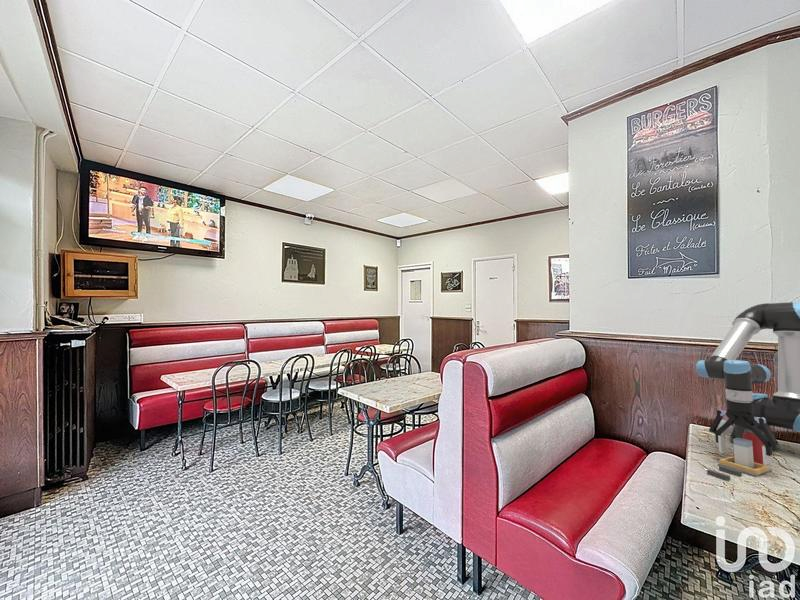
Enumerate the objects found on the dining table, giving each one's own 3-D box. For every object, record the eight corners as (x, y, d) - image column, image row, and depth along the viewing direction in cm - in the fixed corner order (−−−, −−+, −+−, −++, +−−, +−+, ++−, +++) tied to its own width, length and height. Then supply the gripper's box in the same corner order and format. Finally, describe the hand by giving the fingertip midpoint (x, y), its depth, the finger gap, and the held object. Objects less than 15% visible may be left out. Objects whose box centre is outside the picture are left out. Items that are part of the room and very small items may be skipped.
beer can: (773, 466, 132) (770, 434, 133) (753, 464, 134) (750, 433, 134) (759, 459, 139) (757, 429, 140) (740, 458, 140) (738, 428, 141)
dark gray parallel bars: (721, 469, 130) (720, 465, 130) (742, 476, 124) (741, 471, 124) (707, 474, 126) (707, 469, 126) (728, 480, 120) (727, 476, 120)
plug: (740, 463, 133) (738, 437, 134) (754, 467, 130) (752, 440, 130) (735, 465, 132) (733, 439, 132) (749, 469, 128) (746, 442, 129)
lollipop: (731, 460, 138) (728, 422, 139) (713, 455, 143) (710, 419, 144) (738, 457, 141) (735, 420, 142) (719, 452, 146) (717, 417, 147)
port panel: (733, 460, 138) (733, 455, 138) (771, 471, 128) (771, 465, 128) (717, 465, 133) (717, 460, 133) (755, 477, 123) (755, 471, 123)
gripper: (696, 395, 142) (699, 448, 140) (779, 408, 120) (784, 472, 118) (706, 393, 145) (709, 445, 143) (789, 406, 123) (794, 468, 121)
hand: (743, 457), depth 131 cm, fingers open, 12 cm apart
